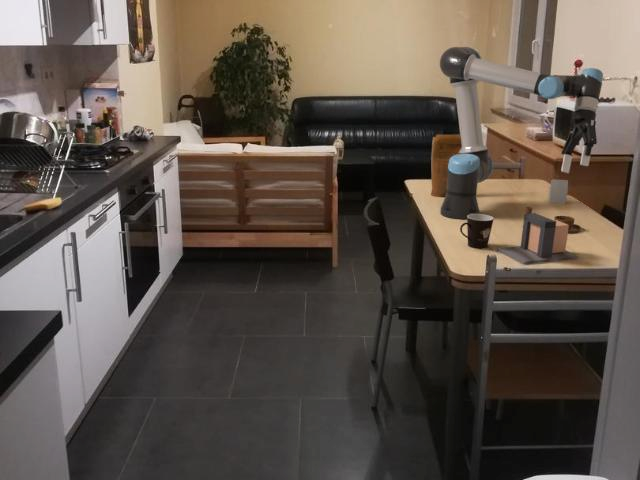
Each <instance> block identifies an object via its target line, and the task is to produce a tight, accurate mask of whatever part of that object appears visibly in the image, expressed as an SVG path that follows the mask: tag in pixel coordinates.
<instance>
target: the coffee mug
mask: <svg viewBox="0 0 640 480" xmlns="http://www.w3.org/2000/svg"><path fill="white" fill-rule="evenodd" d="M494 220H495V219H494V217H493V216H491V215H488V214H482V213H479V214H470V215H468V216H467V219H466V222H464V223H462V224H461V225H460V227H459V232H460V234H462V236H463V237H464V238H467V246H468V247H469V248H472V249H477V250H483V249H482V248H484V249H487V248H488V245H489V241H490V236H491V232H492V227H493V223H494ZM465 225H467V228H466V229H467V235H466V234H465V233H464V232H463V227H464V226H465Z"/></svg>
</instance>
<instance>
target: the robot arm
mask: <svg viewBox="0 0 640 480" xmlns="http://www.w3.org/2000/svg"><path fill="white" fill-rule="evenodd" d="M439 68H440V71H441V72H442V74H443V75H444V76H446V77H447V78H449V82H450V85H451V86H452V87H453V88H454V93H455V100H456V101H455V102H456V109H457V118H458V125H459V126H458V127H459V134H460V136H461V145H462V148H461V150H460V151H459V154H457V155H454V156H452V157H451V158H450V160H449V164H448V178H447V192H446V196H445V197H444V199H443V201H442V204H441V207H440V212H439V213H440V215H442V216H443V217H445V218H451V219H456V220H457V219H458V220H467V216H468V215H470V214H480V207H479V203H478V199H477V194H478V193H477V191H478V184H479V183H483V182H484V181H486V180H488V179H489V177H490V176H491V174H492V172H493V170H494V162H493V160H492V158H491V157H490V155H489V149H488V147H487V146H486V145H484V138H483V130H482V121H481V119H482V118H481V112H480V110H481V109H480V103H479V94H478V83H479V82H482V83H483V82H484V83H488V84H491V85H495V86H499V87H504V88H508V89H513V90H515V91H519V92H525V93H527V94H532V95H536V96H538V97H539V96H540V97H543V99H548V100H554V99H557V98H560V97H574V98H575V97H576V99H575V103H574V111H573V115H572V119H571V120H572V123H574V124H575V125H574V128H573V127H570V129H569V132H568V134H567V135H568V136H567V138H566V140H565V143H564V146H563V148H562V150H561V155H563V160H562V164H561V172H562V173H564V174H565V173H566V174H569V173H570V170H571V164H572V161H573V160H572V158H573V152H574V151H575V148H576V147H577V144H578V143H579V141H581V140H583V147H582V151H581V152H582V153H581V157H580V162H579V163H580V164H579V166H584V167H589V165H590V160H591V154H592V149H593V147H594V146H595V145H597V142H598V141H597V140H598V139H597V132H596V131H597V130H596V125H597V122H596V117H597V111H598V109H599V101H600V96H601V90H602V86H603V77H604V73H603V71H602V70H600V69H598V68H595V67H589V68H584V69H582V70H581V72H580V74H578V75H568V74H566V75H564V74H563V75H561V74H553V75H551V74H547V73H542V72H537V71H533V70H528V69H523V68H520V67H517V66H512V65H507V64H504V63H499V62H494V61H490V60H486V59H482V56H481V54H480V53H479V52H478V51H477V50H476V49H474V48H472V47H470V46H454V47H452V46H451V47H450V48H447V49H446V50H445V51H444V52H443V53H442V54H441V56H440V59H439Z"/></svg>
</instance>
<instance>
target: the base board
mask: <svg viewBox="0 0 640 480" xmlns="http://www.w3.org/2000/svg"><path fill="white" fill-rule="evenodd" d="M497 252H499V253H500V254H503V255H505V256H507V257H508V258H510V259H512V260H514V261H515V262H518V263H519V264H521V265H534V264H542V263H552V262H553V263H554V262H561V261H570V260H579V255H577V254H575V253H573V252H571V251H568V250H566V249H565V252H558V253H552V257H544V258H540V257H538V256H537V253H535V252H533V251H531V250H529V249H525V250H524V249H522V248H521V245H516V246H507V247H506V246H505V247H498V248H497Z"/></svg>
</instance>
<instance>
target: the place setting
mask: <svg viewBox="0 0 640 480" xmlns="http://www.w3.org/2000/svg"><path fill="white" fill-rule="evenodd" d="M529 213H533V207H530V206H526V207H525V213H524V214H529ZM553 218H554V219H553V220H557V221H560V222H562V223H565V224H567V225H569V228H568V234H577V233H579V232H580V231H581V230H584V231H586V229H584V227H583V228H582V227H581V225H579V224H576V223H575V218H574V217H571V216H568V215H567V216H566V215H556V216H554V217H553ZM572 228H574V229H573V230H571V229H572Z"/></svg>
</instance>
